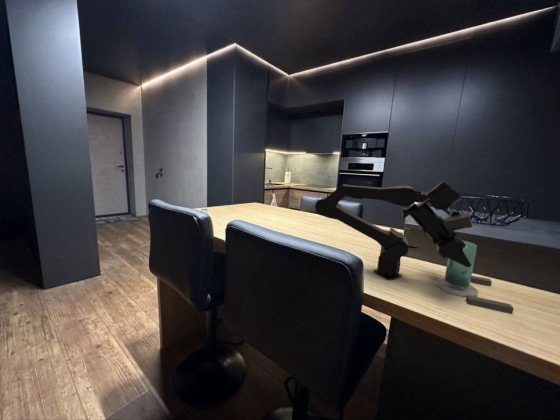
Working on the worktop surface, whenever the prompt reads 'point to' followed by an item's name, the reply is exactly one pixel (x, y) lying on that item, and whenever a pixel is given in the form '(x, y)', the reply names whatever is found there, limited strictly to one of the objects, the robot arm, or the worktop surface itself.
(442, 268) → the worktop surface
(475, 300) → the cord right
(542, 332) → the worktop surface
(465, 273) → the tin canister
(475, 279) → the cord left
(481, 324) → the worktop surface
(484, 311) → the worktop surface
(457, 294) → the slate coaster
